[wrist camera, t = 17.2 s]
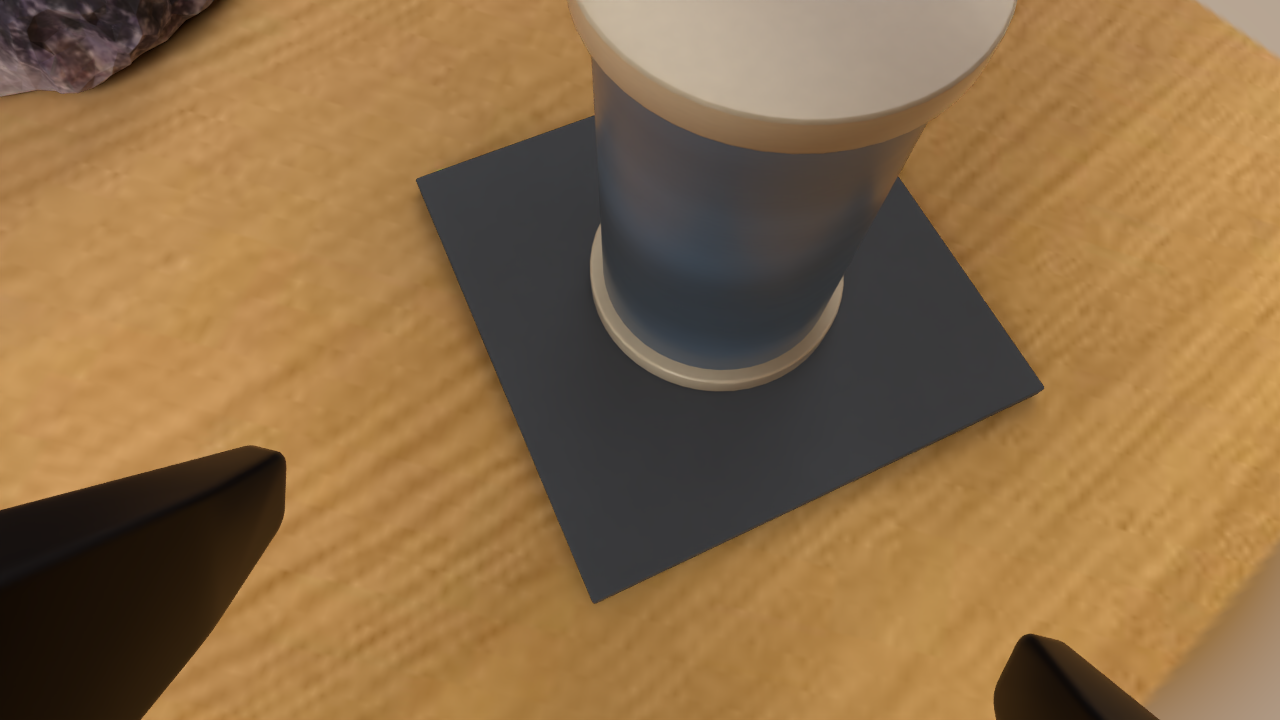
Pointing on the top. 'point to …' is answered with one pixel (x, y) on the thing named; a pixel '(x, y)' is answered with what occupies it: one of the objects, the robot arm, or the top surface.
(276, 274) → the top surface
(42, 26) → the crystal cluster
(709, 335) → the spool
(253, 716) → the top surface
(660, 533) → the felt mat
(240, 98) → the top surface
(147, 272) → the top surface
